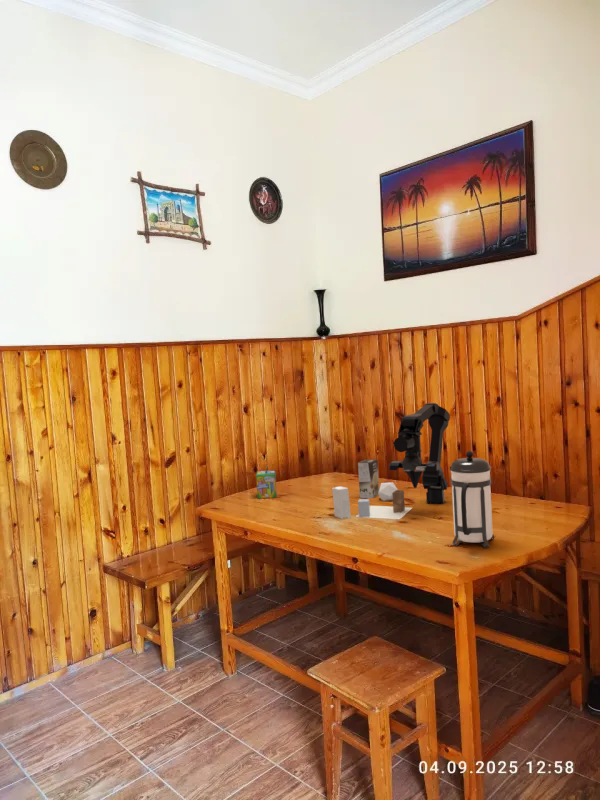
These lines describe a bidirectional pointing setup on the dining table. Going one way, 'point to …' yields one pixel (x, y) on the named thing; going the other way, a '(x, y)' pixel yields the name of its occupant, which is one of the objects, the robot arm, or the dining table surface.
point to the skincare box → (341, 502)
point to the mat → (386, 512)
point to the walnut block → (398, 501)
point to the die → (387, 491)
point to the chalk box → (266, 484)
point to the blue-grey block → (364, 508)
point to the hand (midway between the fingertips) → (415, 487)
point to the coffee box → (368, 478)
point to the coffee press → (471, 500)
